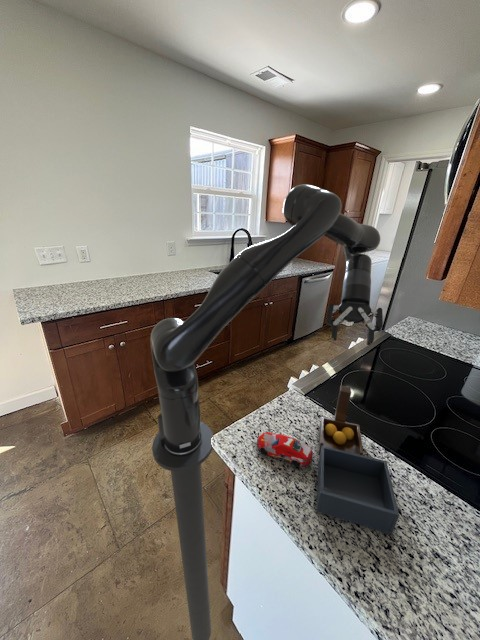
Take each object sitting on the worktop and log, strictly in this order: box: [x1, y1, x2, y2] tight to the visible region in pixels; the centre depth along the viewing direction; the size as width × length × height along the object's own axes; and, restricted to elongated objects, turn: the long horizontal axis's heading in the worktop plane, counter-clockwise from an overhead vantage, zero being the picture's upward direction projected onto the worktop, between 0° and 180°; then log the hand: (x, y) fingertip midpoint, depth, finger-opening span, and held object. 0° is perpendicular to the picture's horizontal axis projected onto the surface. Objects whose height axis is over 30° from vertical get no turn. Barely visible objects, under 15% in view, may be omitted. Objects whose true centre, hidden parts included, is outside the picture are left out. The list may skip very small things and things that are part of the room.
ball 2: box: [333, 431, 346, 445], centre depth 65 cm, size 3×3×3 cm
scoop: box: [318, 384, 364, 456], centre depth 64 cm, size 11×9×13 cm
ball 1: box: [325, 424, 337, 436], centre depth 67 cm, size 3×3×3 cm
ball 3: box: [341, 427, 354, 440], centre depth 66 cm, size 3×3×3 cm
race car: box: [256, 431, 313, 468], centre depth 63 cm, size 13×5×4 cm, turn 64°
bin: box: [316, 446, 400, 535], centre depth 53 cm, size 13×11×6 cm
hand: (351, 342), depth 72 cm, fingers open, 8 cm apart
